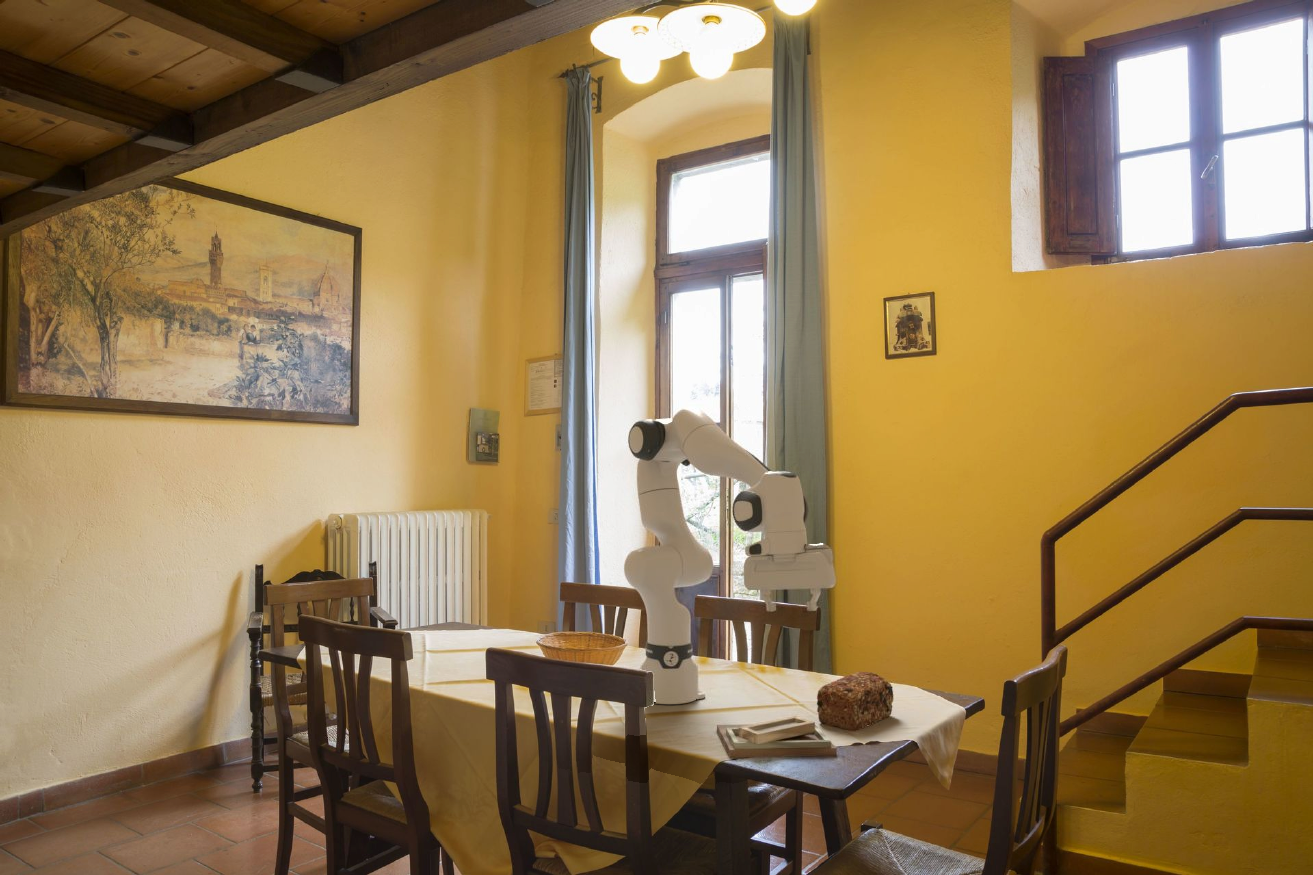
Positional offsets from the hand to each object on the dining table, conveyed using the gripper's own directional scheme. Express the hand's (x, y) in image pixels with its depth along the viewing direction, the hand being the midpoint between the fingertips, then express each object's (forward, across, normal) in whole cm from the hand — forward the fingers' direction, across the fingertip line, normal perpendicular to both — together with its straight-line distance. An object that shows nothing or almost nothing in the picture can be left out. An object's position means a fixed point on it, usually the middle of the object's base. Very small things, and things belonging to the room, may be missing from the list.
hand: (791, 610), depth 186 cm
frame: (+25, +4, +2) cm, 26 cm away
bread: (+28, -1, -28) cm, 40 cm away
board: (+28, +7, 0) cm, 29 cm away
